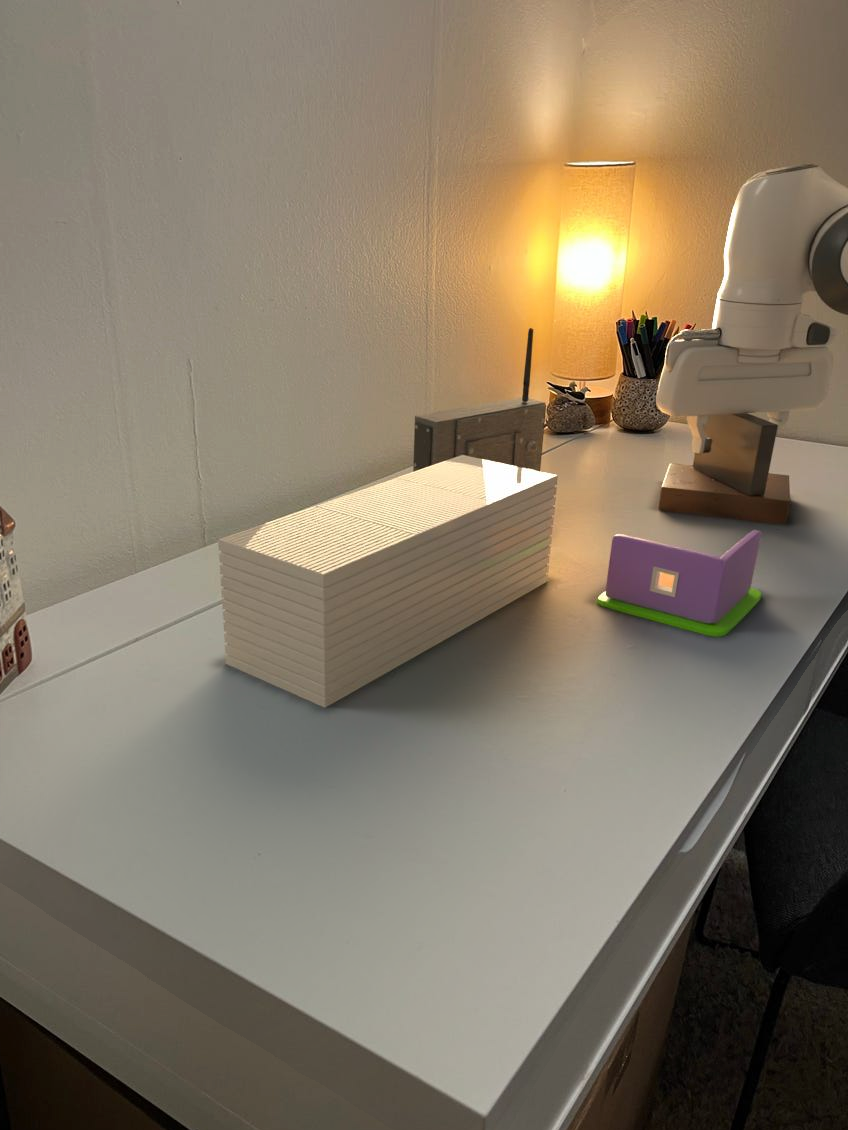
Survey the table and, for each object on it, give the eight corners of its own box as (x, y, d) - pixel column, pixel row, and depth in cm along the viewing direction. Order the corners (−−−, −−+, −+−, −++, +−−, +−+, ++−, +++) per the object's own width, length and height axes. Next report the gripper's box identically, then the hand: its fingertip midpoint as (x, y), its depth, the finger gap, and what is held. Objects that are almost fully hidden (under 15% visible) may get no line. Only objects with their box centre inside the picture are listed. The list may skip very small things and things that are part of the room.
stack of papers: (324, 710, 70) (323, 574, 66) (226, 666, 77) (218, 539, 72) (547, 583, 93) (557, 475, 88) (456, 557, 99) (462, 454, 94)
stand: (784, 498, 118) (789, 475, 116) (785, 526, 108) (790, 500, 107) (666, 485, 122) (670, 462, 121) (657, 511, 113) (661, 486, 111)
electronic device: (514, 488, 120) (527, 323, 112) (554, 502, 116) (571, 330, 107) (408, 514, 111) (413, 336, 102) (447, 530, 106) (456, 344, 97)
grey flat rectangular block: (764, 494, 109) (778, 422, 105) (749, 495, 108) (762, 423, 105) (706, 466, 119) (717, 399, 116) (692, 467, 119) (703, 400, 115)
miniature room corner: (721, 641, 81) (735, 566, 78) (591, 605, 88) (600, 535, 85) (764, 597, 90) (779, 528, 87) (643, 567, 96) (652, 502, 93)
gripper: (685, 334, 101) (666, 462, 107) (851, 329, 106) (823, 452, 112) (655, 325, 107) (638, 448, 113) (814, 321, 111) (790, 439, 117)
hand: (732, 450), depth 112 cm, fingers open, 7 cm apart
